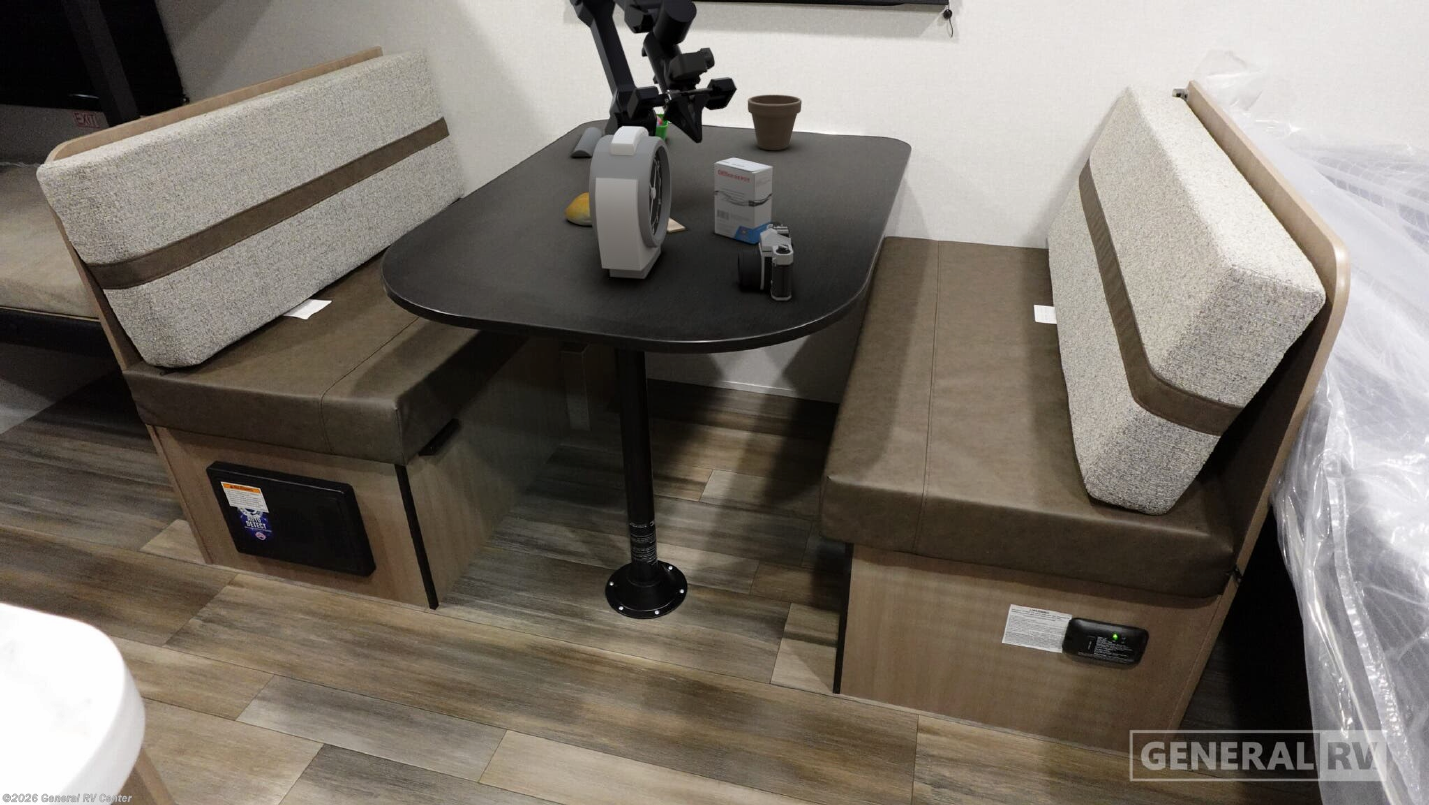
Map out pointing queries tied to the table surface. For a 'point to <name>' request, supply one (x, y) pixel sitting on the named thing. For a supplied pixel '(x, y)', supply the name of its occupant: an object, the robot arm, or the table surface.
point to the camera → (769, 262)
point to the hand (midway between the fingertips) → (699, 141)
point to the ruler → (674, 226)
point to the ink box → (742, 199)
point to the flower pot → (774, 119)
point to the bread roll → (579, 210)
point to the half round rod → (587, 142)
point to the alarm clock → (630, 200)
